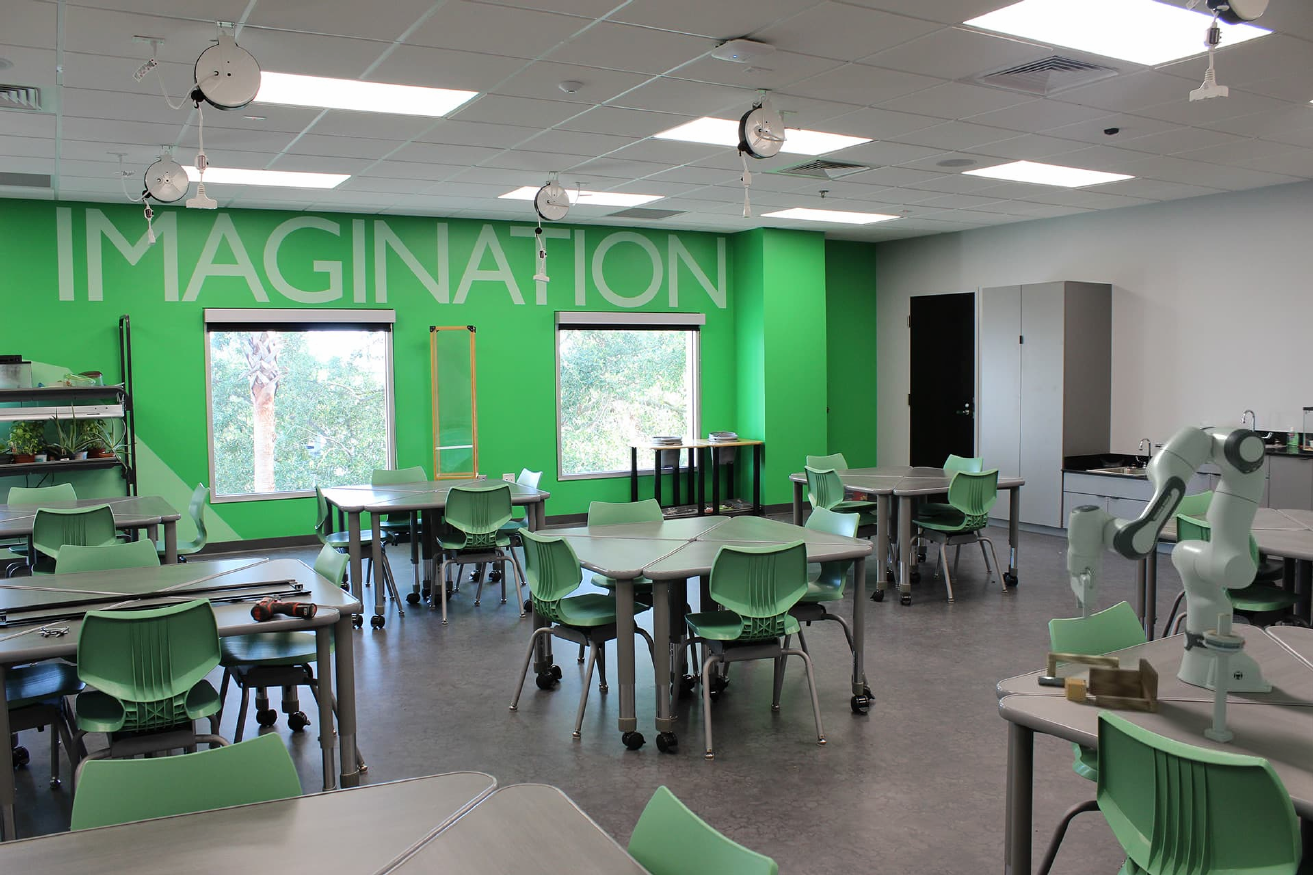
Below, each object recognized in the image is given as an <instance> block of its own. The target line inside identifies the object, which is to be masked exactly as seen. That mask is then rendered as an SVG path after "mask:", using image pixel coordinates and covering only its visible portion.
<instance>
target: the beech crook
mask: <svg viewBox="0 0 1313 875" xmlns="http://www.w3.org/2000/svg"><path fill="white" fill-rule="evenodd" d="M1046 661H1047V663H1046V665H1047V666H1046V667H1047V668H1046V677H1056V672H1057V663H1067V664H1078V665H1090V666H1092V665H1093V666H1103V667H1104V666H1105V667H1108V668H1111V669H1121V668H1120V667H1119V665H1120V664H1119V662H1120V658H1118V657H1116V656H1105V655H1091V654H1089V655H1088V654H1077V653H1067V652H1066V653H1064V652H1052V651H1051V652H1049V651H1048V652H1047V660H1046Z"/></svg>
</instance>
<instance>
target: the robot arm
mask: <svg viewBox="0 0 1313 875" xmlns="http://www.w3.org/2000/svg"><path fill="white" fill-rule="evenodd" d="M1266 449H1267V448H1266V441H1265V440H1264V437H1263V436H1262V435H1261V434H1260V433H1258V432H1256V431H1254V430H1251V429H1248V428H1240V427H1234V426H1219V427H1217V426H1216V427H1215V426H1207V427H1202V428H1198V427H1195V426H1184V427H1182V428H1180V429H1179V430H1178V431H1177V432H1175V433H1174V434H1173V435H1171V437H1170V438H1168V439H1167V440H1166V441H1165V442H1164V443H1163V444H1162V445H1161V446H1160V448H1158V450H1157V451H1156V452H1155V453H1154V454H1153V455H1152V457H1151V459H1150V460H1149V461H1148V463H1147V465H1146V468H1145V474H1146V478H1147V480H1148V481H1149V482H1148V483H1150V484H1151V485H1152V487H1153V488H1154V495H1153V497H1152V498H1151V500H1150V501H1149V503H1148V504H1147V506H1146V507H1145V509H1144V510H1143V512H1142V513H1141V515H1140V516H1139V517H1138V518H1136V519H1134V520H1129V519H1126V518H1123V517H1119V516H1117V515H1114V514H1111V513H1110V512H1107V511H1106V510H1104V509H1102V508H1101V507H1100V506H1098V505H1095V504H1094V505H1093V504H1088V505H1087V504H1085V505H1079V506H1076V507H1074V508H1073V509H1072V510H1071V511H1070V514H1069V517H1068V525H1067V539H1068V549H1067V552H1066V554H1067V555H1066V556H1067V557H1066V558H1067V559H1066V562H1067V563H1066V569H1067V571H1069V581H1070V583H1069V584H1070V588H1071V589H1072V591H1073V592H1074V595H1075V601H1076V609H1077V610H1081V611H1082V617H1083V619H1086V620H1087V619H1088V620H1090V619H1091V618H1092V611H1093V606H1097V605H1098V603H1099V591H1098V590H1099V587H1098V584H1099V583H1098V574H1100V573H1102V572H1103V552H1104V551H1109V552H1112V553H1114V554H1117V555H1119V556H1122V557H1123V558H1126V559H1128V560H1130V561H1142V560H1144V559H1146V558H1148V557H1149V556H1150V555H1151V554H1152V553H1153V552H1154V551H1155V550H1154V549H1155V548H1156V546H1157V543H1158V539H1159V537H1160V535H1161V532H1162V531H1163V529H1165V527H1166V525H1167V523H1168V521H1169V520H1170V519H1171V517H1173V514H1174V513H1175V511H1176V510H1177V508H1178V507H1179V505H1180V504H1181V502H1182V500H1183V499H1184V497H1185V494H1186V491H1187V486H1188V485H1189V482H1190V481H1191V480H1192V478H1193V477H1194V475H1196V473H1197V472H1198V471H1199V470H1200V469H1201V467H1202V466H1203V465H1204V464H1205V465H1206V464H1207V465H1212V466H1216V467H1219V468H1220V479H1219V482H1218V483H1217V486H1216V488H1215V490H1214V493H1213V495H1212V499H1211V501H1210V503H1209V506H1208V509H1207V512H1206V514H1205V520H1206V523H1207V524H1208V525H1209V528H1210V539H1209V541H1206V540H1201V539H1184V540H1180V541H1179V542H1177V544H1175V546H1174V547H1173V549H1172V551H1171V555H1170V556H1171V557H1170V558H1171V562H1172V564H1173V566H1174V568H1175V569H1176V570H1177V572H1178V573H1179V576H1180V578H1181V582H1182V585H1183V588H1184V593H1185V596H1186V627H1185V628H1184V633H1183V648H1184V651H1183V657H1182V661H1181V665H1180V668H1179V671H1178V673H1177V678H1179V680H1181V681H1183V682H1185V683H1188V684H1191V685H1194V686H1198V687H1202V688H1205V689H1208V690H1210V691H1214V692H1215V675H1216V655H1215V654H1214V653H1213V652H1212V651H1211V650H1210V649H1208V648H1207V647H1206V646H1205V645H1204V644H1203V640H1205V639H1204V636H1203V632H1204V631H1205V630H1207V629H1218V614H1219V613H1225V614H1230V615H1231V622H1230V631H1233V620H1234V619H1233V618H1234V616H1233V615H1234V607H1233V604H1232V602H1231V601H1230V599H1229V598H1228V597H1227V595H1226V593H1225V590H1224V589H1237V590H1238V589H1240V590H1241V589H1244V588H1247V587H1249V586H1250V585H1251V584H1252V583H1253V582H1254V580H1255V578H1256V575H1257V565H1256V562H1255V561H1254V559H1253V558H1252V555H1251V550H1250V535H1251V530H1252V525H1253V522H1254V520H1255V517H1256V515H1257V511H1258V509H1259V507H1260V506H1259V505H1260V503H1261V500H1262V497H1263V493H1264V489H1265V484H1266V478H1267V472H1266V470H1265V467H1263V464H1264V461H1265V456H1266V452H1267V451H1266ZM1246 644H1247V642H1246V640H1244V642H1243V644H1242V645H1243V646H1244V647H1245V645H1246ZM1272 688H1273V687H1272V685H1271V683H1270V681H1268V680H1266V678H1263V671H1262V668H1261V666H1260V664H1259V663H1258V662H1257V661H1256V660H1255V659H1254V658H1253V657H1252V656H1250V655H1249V654H1248V653H1247V652H1245V651H1244V649H1243V650H1241V651H1239V652H1238V653H1236V654H1234V655H1232V656H1230V657H1229V662H1228V682H1227V693H1229V692H1231V693H1233V692H1234V693H1235V692H1236V693H1237V692H1238V693H1271V692H1272V690H1273V689H1272Z"/></svg>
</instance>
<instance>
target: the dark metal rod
mask: <svg viewBox="0 0 1313 875" xmlns="http://www.w3.org/2000/svg"><path fill="white" fill-rule="evenodd" d="M1065 678H1066V677H1056V676H1055V677H1047V676H1043V675H1038V676H1037V684H1038V685H1040V686H1041V685H1042V686H1052V687H1062V688H1063V687H1064V688H1065ZM1069 679H1071V678H1070V677H1069ZM1083 680H1084V682H1085V684H1086V685H1087V683H1086V682H1087V681H1086V679H1083Z"/></svg>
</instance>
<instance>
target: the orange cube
mask: <svg viewBox="0 0 1313 875" xmlns="http://www.w3.org/2000/svg"><path fill="white" fill-rule="evenodd" d="M1064 678H1065V687H1064V696H1065V698H1066V700H1068V701H1076V702H1077V701H1078V702H1086V701H1087V683H1086V684H1085V682H1084V680H1085V679H1082V678H1081V679H1080V678H1079V679H1078V678H1070V677H1069V678H1070V679H1069V678H1067V677H1064Z"/></svg>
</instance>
